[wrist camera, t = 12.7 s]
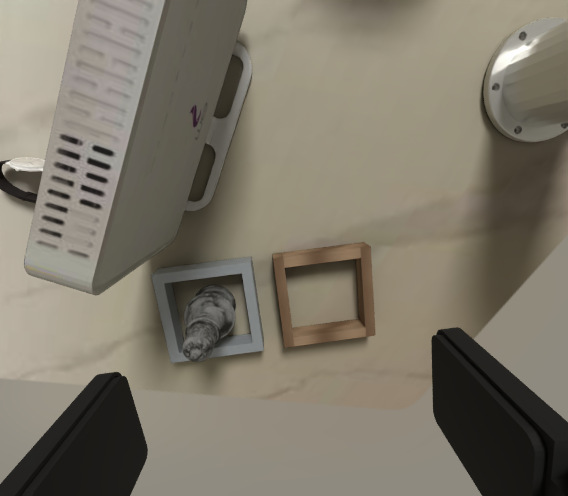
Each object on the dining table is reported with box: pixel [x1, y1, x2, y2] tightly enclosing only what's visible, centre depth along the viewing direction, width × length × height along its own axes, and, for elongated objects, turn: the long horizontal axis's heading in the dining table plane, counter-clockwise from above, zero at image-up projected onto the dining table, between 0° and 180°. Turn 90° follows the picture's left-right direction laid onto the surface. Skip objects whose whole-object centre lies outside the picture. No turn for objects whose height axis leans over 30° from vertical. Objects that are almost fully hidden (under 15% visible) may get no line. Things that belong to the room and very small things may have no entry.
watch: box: [0, 158, 45, 203], centre depth 34 cm, size 8×5×4 cm, turn 78°
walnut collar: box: [273, 242, 375, 348], centre depth 39 cm, size 11×11×2 cm
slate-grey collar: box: [151, 257, 264, 363], centre depth 38 cm, size 11×11×2 cm
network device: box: [24, 0, 252, 295], centre depth 25 cm, size 26×9×20 cm, turn 159°
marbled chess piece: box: [182, 285, 236, 362], centre depth 34 cm, size 6×6×12 cm
